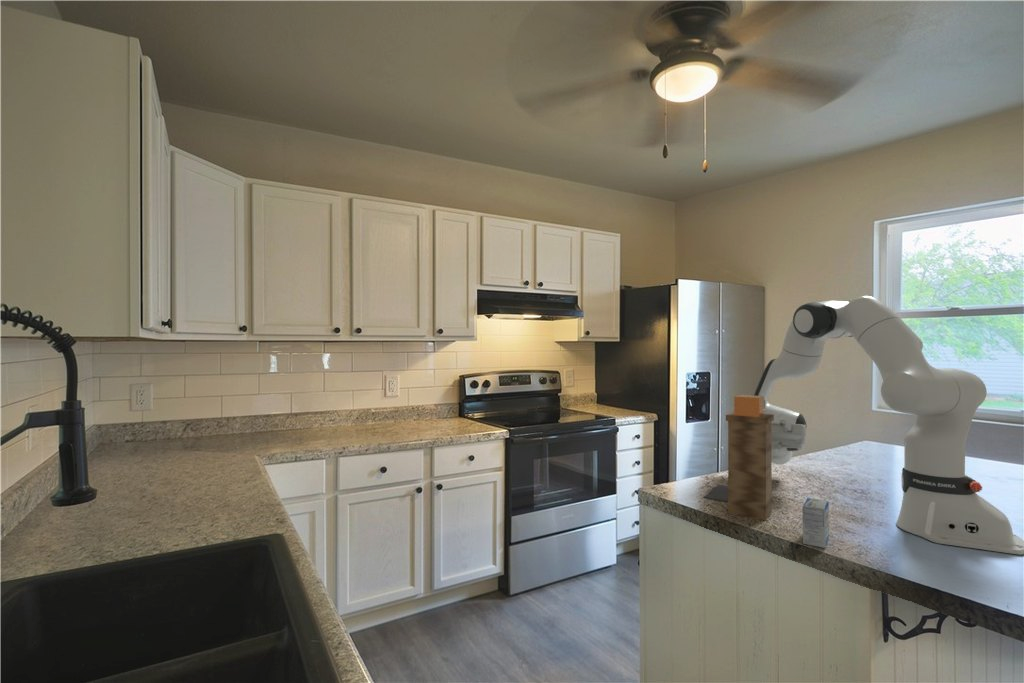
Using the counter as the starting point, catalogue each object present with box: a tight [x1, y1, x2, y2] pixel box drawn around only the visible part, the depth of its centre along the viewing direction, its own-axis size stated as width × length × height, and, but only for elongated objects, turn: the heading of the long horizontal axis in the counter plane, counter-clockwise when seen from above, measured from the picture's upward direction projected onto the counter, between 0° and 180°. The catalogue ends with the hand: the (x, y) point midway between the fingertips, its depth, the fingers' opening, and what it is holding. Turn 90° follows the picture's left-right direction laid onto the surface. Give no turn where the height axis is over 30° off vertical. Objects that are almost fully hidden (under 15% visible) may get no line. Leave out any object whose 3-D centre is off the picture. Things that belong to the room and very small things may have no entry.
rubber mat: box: [703, 483, 728, 503], centre depth 146 cm, size 9×16×1 cm, turn 143°
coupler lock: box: [733, 394, 765, 417], centre depth 134 cm, size 6×17×5 cm, turn 143°
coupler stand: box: [725, 411, 774, 521], centre depth 130 cm, size 10×9×26 cm
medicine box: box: [801, 497, 830, 549], centre depth 111 cm, size 8×4×9 cm, turn 143°
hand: (764, 420), depth 146 cm, fingers open, 8 cm apart
